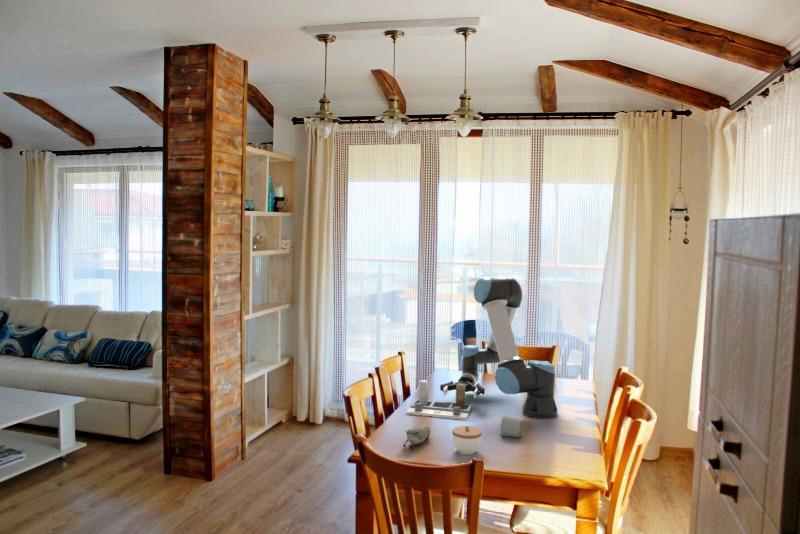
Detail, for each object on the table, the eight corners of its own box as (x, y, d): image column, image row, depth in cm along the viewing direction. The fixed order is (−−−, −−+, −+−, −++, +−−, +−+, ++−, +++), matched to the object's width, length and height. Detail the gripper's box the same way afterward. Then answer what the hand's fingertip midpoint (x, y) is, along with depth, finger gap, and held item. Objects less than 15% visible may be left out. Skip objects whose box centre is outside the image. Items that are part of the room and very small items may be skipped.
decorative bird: (434, 439, 231) (434, 420, 230) (412, 452, 217) (413, 432, 217) (422, 436, 234) (422, 418, 233) (400, 449, 220) (400, 429, 220)
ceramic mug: (521, 440, 231) (522, 420, 231) (500, 437, 233) (500, 418, 233) (523, 432, 241) (524, 413, 241) (503, 429, 244) (503, 411, 243)
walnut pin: (465, 412, 266) (466, 385, 265) (457, 412, 265) (457, 385, 264) (463, 409, 270) (463, 383, 269) (454, 409, 269) (455, 383, 268)
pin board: (472, 408, 271) (472, 382, 271) (468, 415, 261) (469, 388, 260) (416, 403, 278) (416, 377, 278) (410, 409, 268) (410, 383, 267)
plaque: (468, 415, 261) (468, 406, 260) (466, 420, 255) (466, 410, 254) (410, 410, 267) (410, 400, 267) (406, 414, 262) (406, 404, 261)
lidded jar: (486, 450, 220) (486, 425, 220) (473, 459, 211) (474, 433, 211) (460, 444, 226) (460, 419, 225) (446, 452, 217) (447, 427, 216)
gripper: (493, 392, 281) (487, 404, 261) (440, 387, 288) (431, 399, 268) (493, 376, 281) (487, 387, 261) (441, 372, 288) (431, 383, 267)
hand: (459, 393), depth 264 cm, fingers open, 13 cm apart
